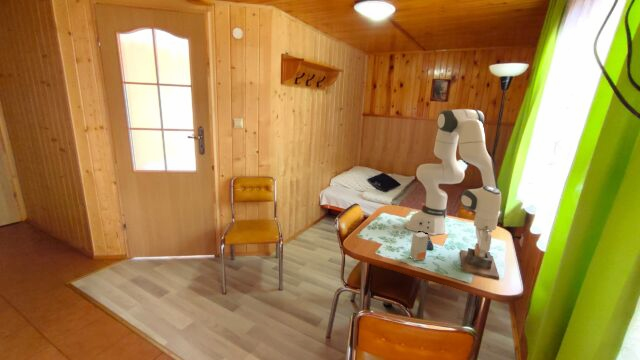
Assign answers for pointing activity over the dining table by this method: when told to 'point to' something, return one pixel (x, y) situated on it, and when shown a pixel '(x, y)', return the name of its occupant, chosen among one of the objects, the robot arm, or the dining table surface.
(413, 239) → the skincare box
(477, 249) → the square peg
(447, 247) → the dining table surface
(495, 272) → the socket holder
